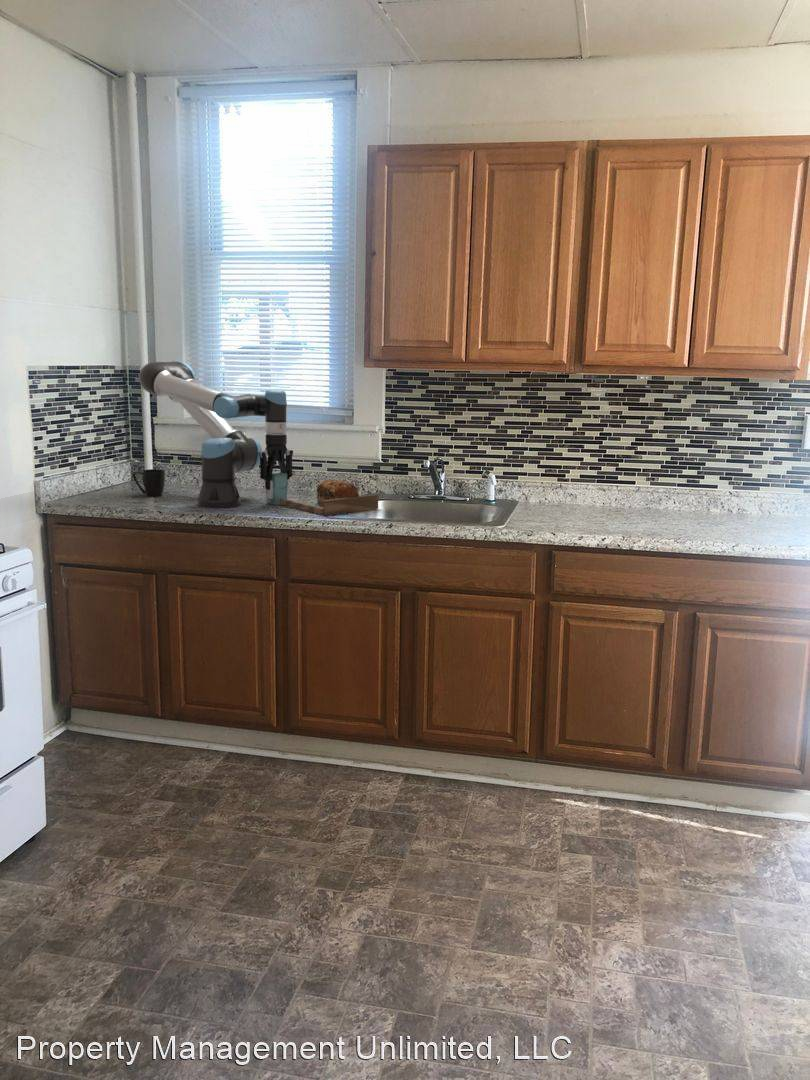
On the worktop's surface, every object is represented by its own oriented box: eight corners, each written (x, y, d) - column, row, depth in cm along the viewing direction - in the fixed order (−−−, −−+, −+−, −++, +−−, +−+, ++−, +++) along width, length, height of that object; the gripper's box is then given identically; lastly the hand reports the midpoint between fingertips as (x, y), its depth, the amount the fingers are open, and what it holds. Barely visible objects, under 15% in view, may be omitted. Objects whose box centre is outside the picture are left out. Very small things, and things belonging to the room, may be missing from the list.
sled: (266, 502, 335) (266, 472, 332) (322, 496, 351) (322, 467, 349) (320, 516, 310) (320, 484, 308) (378, 508, 327) (378, 478, 325)
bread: (359, 511, 323) (359, 483, 321) (330, 512, 319) (330, 484, 317) (343, 502, 340) (343, 476, 338) (315, 504, 336) (315, 477, 334)
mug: (138, 493, 350) (137, 468, 348) (168, 494, 349) (168, 469, 347) (130, 496, 342) (129, 471, 340) (161, 497, 341) (160, 472, 339)
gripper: (260, 435, 320) (261, 501, 325) (302, 433, 332) (302, 496, 337) (248, 434, 326) (249, 498, 330) (290, 431, 337) (291, 494, 342)
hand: (276, 497), depth 334 cm, fingers closed on sled, 5 cm apart
